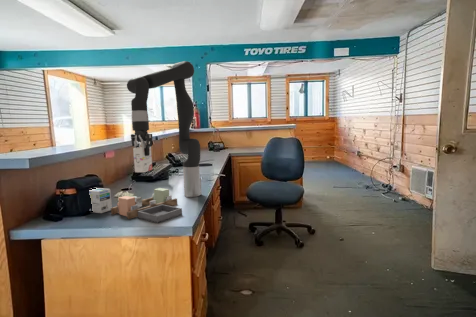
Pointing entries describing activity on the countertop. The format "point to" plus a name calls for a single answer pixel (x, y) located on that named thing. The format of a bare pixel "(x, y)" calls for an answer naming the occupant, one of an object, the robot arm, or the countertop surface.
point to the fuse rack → (140, 203)
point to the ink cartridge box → (142, 159)
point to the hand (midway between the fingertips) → (142, 155)
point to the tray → (159, 213)
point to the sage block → (160, 195)
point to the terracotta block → (125, 204)
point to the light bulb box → (100, 200)
